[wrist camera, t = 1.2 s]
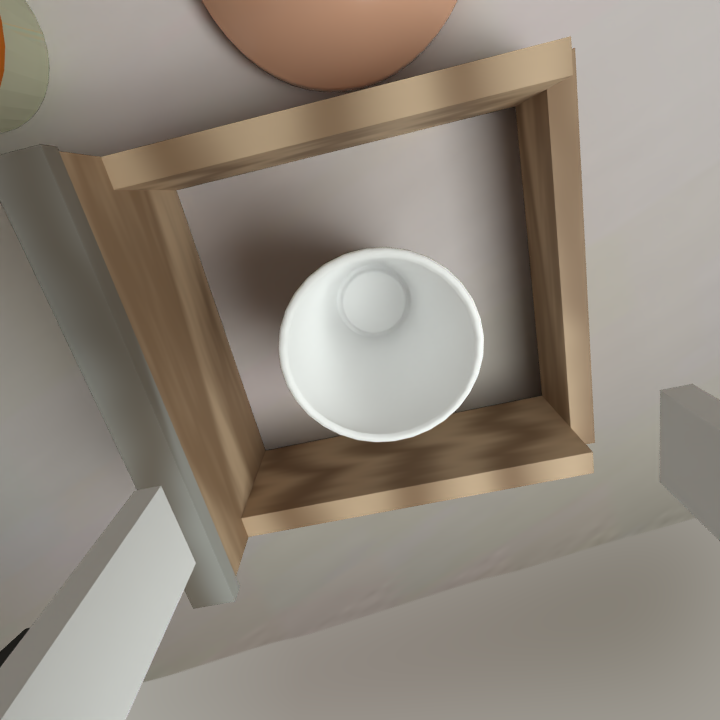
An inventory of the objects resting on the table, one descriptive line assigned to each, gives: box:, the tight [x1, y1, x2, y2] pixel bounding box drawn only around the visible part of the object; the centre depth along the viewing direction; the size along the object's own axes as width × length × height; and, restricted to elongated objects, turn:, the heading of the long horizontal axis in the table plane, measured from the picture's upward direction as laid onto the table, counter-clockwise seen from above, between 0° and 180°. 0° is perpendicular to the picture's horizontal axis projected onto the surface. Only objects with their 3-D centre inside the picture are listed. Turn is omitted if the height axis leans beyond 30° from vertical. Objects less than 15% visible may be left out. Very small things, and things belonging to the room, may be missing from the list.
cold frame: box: [0, 36, 595, 609], centre depth 26 cm, size 25×23×13 cm
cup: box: [278, 247, 484, 442], centre depth 27 cm, size 10×10×11 cm
